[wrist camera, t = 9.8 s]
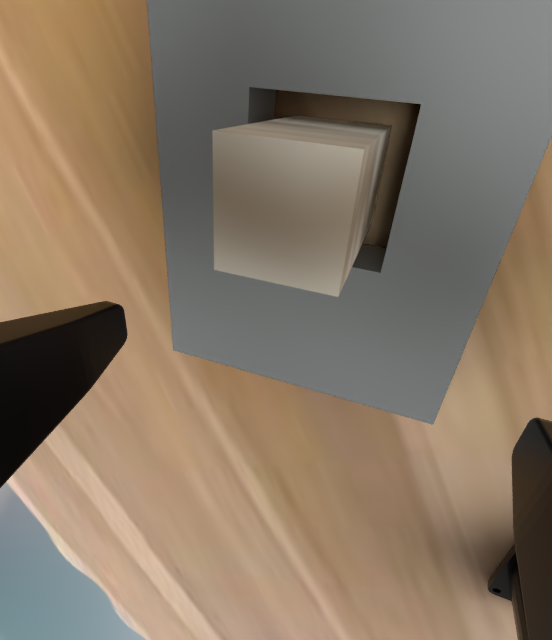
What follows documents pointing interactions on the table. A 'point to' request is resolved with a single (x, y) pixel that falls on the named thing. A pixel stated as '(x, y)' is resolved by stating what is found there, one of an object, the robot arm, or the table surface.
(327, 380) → the socket block
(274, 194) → the cream peg
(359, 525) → the table surface
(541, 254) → the table surface
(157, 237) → the table surface
